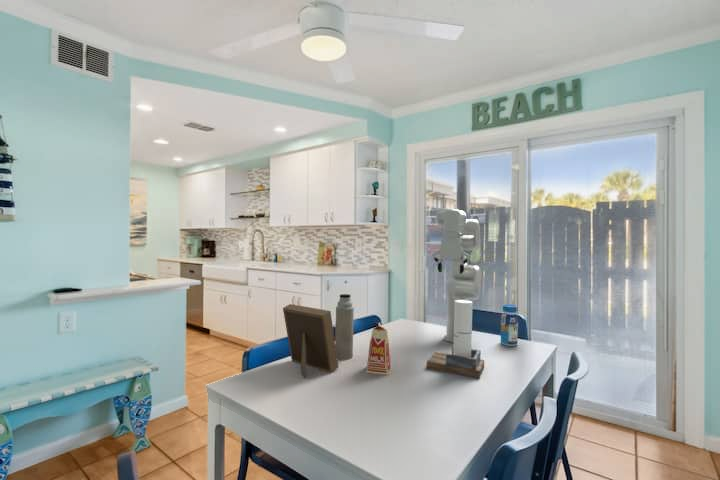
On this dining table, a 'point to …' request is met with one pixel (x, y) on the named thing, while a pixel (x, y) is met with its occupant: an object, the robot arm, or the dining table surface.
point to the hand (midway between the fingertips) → (450, 272)
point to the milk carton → (379, 352)
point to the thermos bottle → (344, 328)
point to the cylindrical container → (462, 328)
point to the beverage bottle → (509, 325)
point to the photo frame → (311, 338)
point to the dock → (457, 364)
